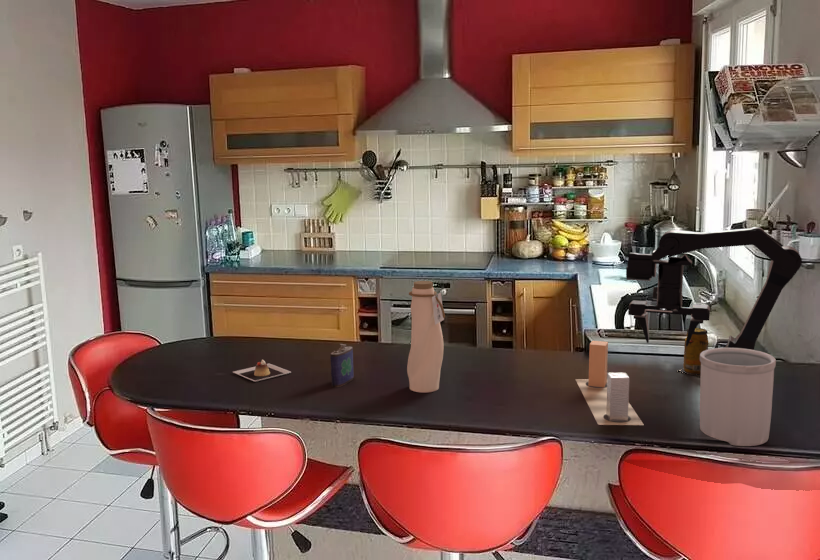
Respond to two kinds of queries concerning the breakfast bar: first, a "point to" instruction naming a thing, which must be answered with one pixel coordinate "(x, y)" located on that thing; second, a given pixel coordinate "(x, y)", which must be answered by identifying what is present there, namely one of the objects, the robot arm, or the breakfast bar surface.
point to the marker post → (598, 363)
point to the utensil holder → (736, 395)
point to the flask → (342, 366)
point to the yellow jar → (695, 351)
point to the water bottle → (425, 338)
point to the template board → (603, 404)
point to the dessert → (262, 370)
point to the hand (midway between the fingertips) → (667, 344)
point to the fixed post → (617, 396)
